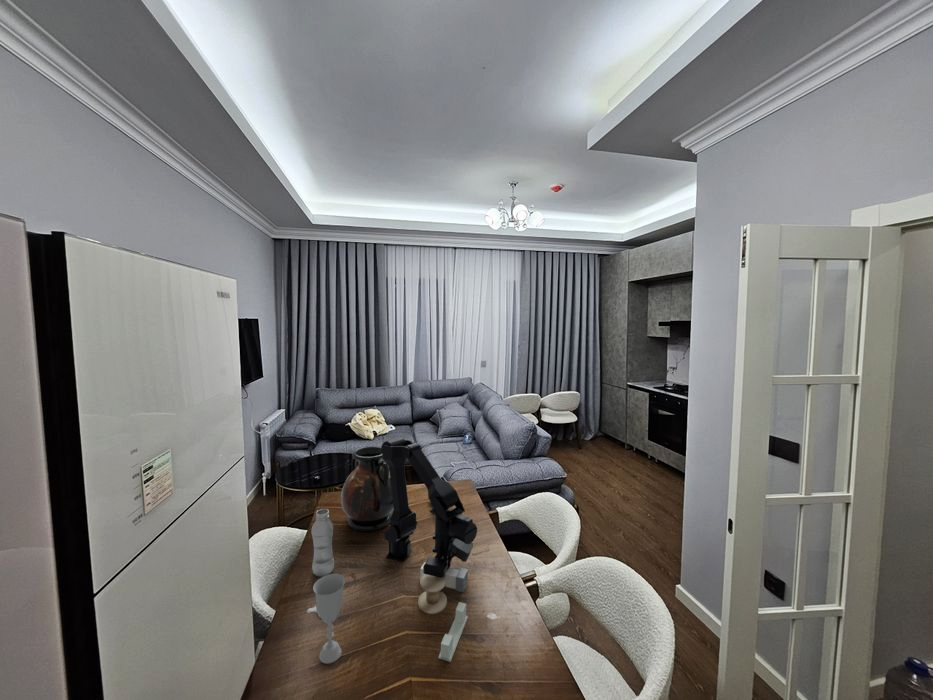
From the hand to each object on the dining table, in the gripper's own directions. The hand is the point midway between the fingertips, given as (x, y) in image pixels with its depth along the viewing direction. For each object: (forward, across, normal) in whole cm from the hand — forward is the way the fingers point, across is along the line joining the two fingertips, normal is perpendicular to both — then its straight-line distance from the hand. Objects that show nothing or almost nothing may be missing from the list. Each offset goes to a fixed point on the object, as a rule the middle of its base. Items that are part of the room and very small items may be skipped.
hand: (443, 578), depth 119 cm
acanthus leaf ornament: (+2, -20, +28) cm, 35 cm away
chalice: (+1, -32, +17) cm, 36 cm away
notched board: (+1, -18, -9) cm, 20 cm away
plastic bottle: (+1, -8, +37) cm, 38 cm away
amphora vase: (+1, +23, +39) cm, 45 cm away
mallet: (+1, 0, 0) cm, 1 cm away
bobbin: (+1, -9, 0) cm, 9 cm away
